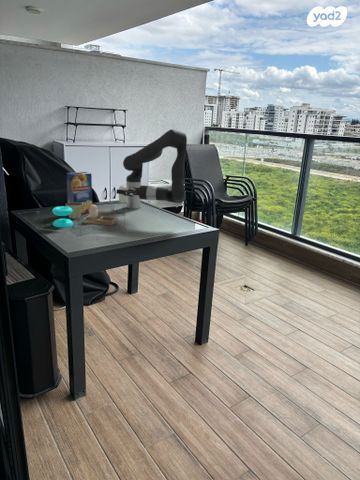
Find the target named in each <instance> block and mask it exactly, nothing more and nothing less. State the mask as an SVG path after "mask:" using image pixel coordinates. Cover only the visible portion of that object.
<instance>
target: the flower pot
mask: <svg viewBox="0 0 360 480" xmlns="http://www.w3.org/2000/svg"><path fill="white" fill-rule="evenodd" d="M82 205H83V203H79V202H70V203H68V202H66V203H65V206H66V207H70V208H72V213H71V214H70V215H68V219H74V220H75V219H80V218H81V217H82V216H81V215H82V214H81V209H82Z"/></svg>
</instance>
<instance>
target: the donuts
mask: <svg viewBox="0 0 360 480" xmlns="http://www.w3.org/2000/svg"><path fill="white" fill-rule="evenodd" d="M71 213H72V208H70V207H67V206H66V205H65V206H63V205H62V206H56V207H53V209H52V214H54V215H55V216H58V217H59V216H60V217H67V216H69V215H70V214H71ZM52 225H53V227H56V228H69V227H72V226H73V225H74V222H73V221H72V220H71V219H70V218H58V219H55V220H54V221H53V223H52Z"/></svg>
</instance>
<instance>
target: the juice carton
mask: <svg viewBox="0 0 360 480" xmlns="http://www.w3.org/2000/svg"><path fill="white" fill-rule="evenodd" d="M92 184H93V183H92V173H91V172H87V171H77V172H66V190H67V191H66V192H67V203H70V202H79V203H83V205H82V209H81V215H82V214H86V213H87V214H89V206H90V205H93V185H92Z"/></svg>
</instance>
